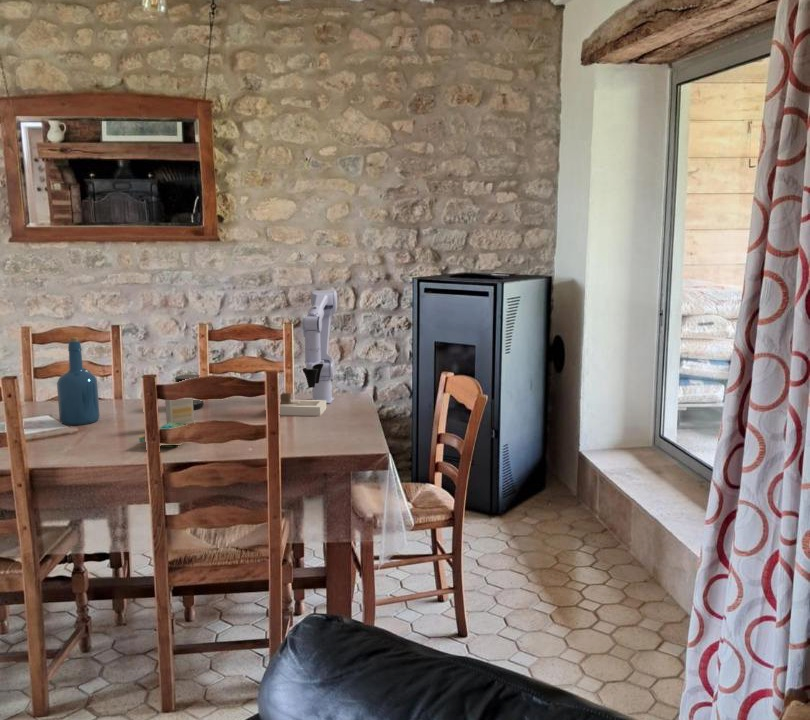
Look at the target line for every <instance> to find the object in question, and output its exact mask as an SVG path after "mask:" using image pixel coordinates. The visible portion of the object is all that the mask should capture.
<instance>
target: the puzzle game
mask: <svg viewBox="0 0 810 720" xmlns="http://www.w3.org/2000/svg"><path fill="white" fill-rule="evenodd" d="M186 424H189V423H170V422H169V423H167V422H166V423H165V424H164V425H162V426H160V427H159V428H160V429H169V428H175V427H179V426H182V425H186ZM145 435H146V434H145ZM145 435H142V436H141V437H139V442H140V443H145ZM161 446H163V447H162V448H179V447H180V445H161ZM164 446H165V447H164ZM178 446H179V447H178Z"/></svg>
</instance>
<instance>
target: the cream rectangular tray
mask: <svg viewBox="0 0 810 720" xmlns="http://www.w3.org/2000/svg"><path fill="white" fill-rule="evenodd" d="M279 400H280V415H279V416H300V417H301V416H302V417H304V416H307V417H309V416H310V417H313V416H315V417H320V416H322V415H323V413H324V412H325V411H326V409H327V403H326V400H312V399H291V404H281V399H279Z"/></svg>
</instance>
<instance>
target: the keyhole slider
mask: <svg viewBox="0 0 810 720" xmlns="http://www.w3.org/2000/svg"><path fill="white" fill-rule="evenodd" d="M280 400H281V404H291V400H292V399H291V393H290V392H289V393H288V392H286V393H285V392H282V393H281V394H280Z"/></svg>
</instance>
